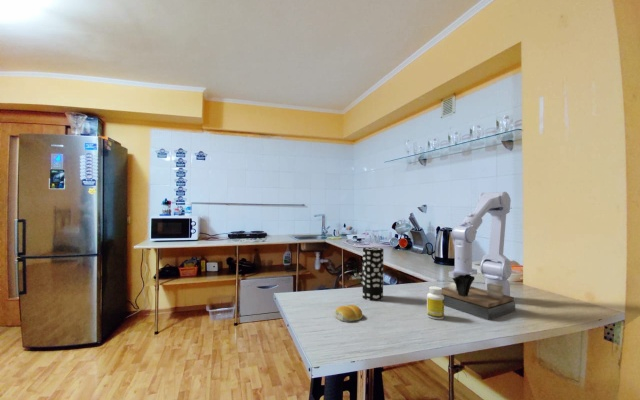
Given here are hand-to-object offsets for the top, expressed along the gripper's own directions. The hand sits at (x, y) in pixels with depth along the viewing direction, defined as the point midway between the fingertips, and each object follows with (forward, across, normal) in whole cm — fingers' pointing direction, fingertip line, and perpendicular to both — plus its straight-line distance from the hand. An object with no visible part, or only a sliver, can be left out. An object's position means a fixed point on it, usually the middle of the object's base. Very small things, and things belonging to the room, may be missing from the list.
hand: (463, 295), depth 103 cm
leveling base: (+5, +6, 0) cm, 8 cm away
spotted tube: (+5, -21, +26) cm, 34 cm away
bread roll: (+6, -42, +14) cm, 45 cm away
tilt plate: (+1, +7, 0) cm, 7 cm away
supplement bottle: (+5, -16, 0) cm, 17 cm away
